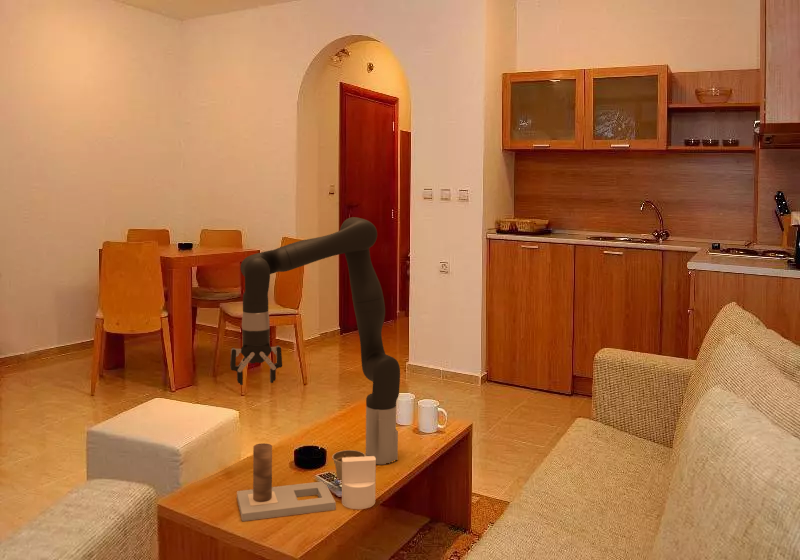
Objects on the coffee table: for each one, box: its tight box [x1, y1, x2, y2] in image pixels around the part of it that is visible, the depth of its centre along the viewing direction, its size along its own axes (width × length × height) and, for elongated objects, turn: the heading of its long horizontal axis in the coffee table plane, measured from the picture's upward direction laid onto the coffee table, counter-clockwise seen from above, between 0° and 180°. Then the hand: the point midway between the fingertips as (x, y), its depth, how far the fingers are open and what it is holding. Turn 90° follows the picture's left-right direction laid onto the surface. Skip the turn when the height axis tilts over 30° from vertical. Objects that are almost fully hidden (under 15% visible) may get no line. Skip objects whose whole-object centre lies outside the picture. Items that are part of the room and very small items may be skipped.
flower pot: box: [331, 449, 366, 480], centre depth 205 cm, size 9×9×9 cm
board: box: [236, 481, 337, 522], centre depth 194 cm, size 24×14×2 cm, turn 108°
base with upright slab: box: [341, 456, 377, 510], centre depth 195 cm, size 9×9×12 cm
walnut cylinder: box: [252, 442, 273, 502], centre depth 191 cm, size 5×5×14 cm
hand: (256, 383), depth 206 cm, fingers open, 8 cm apart
